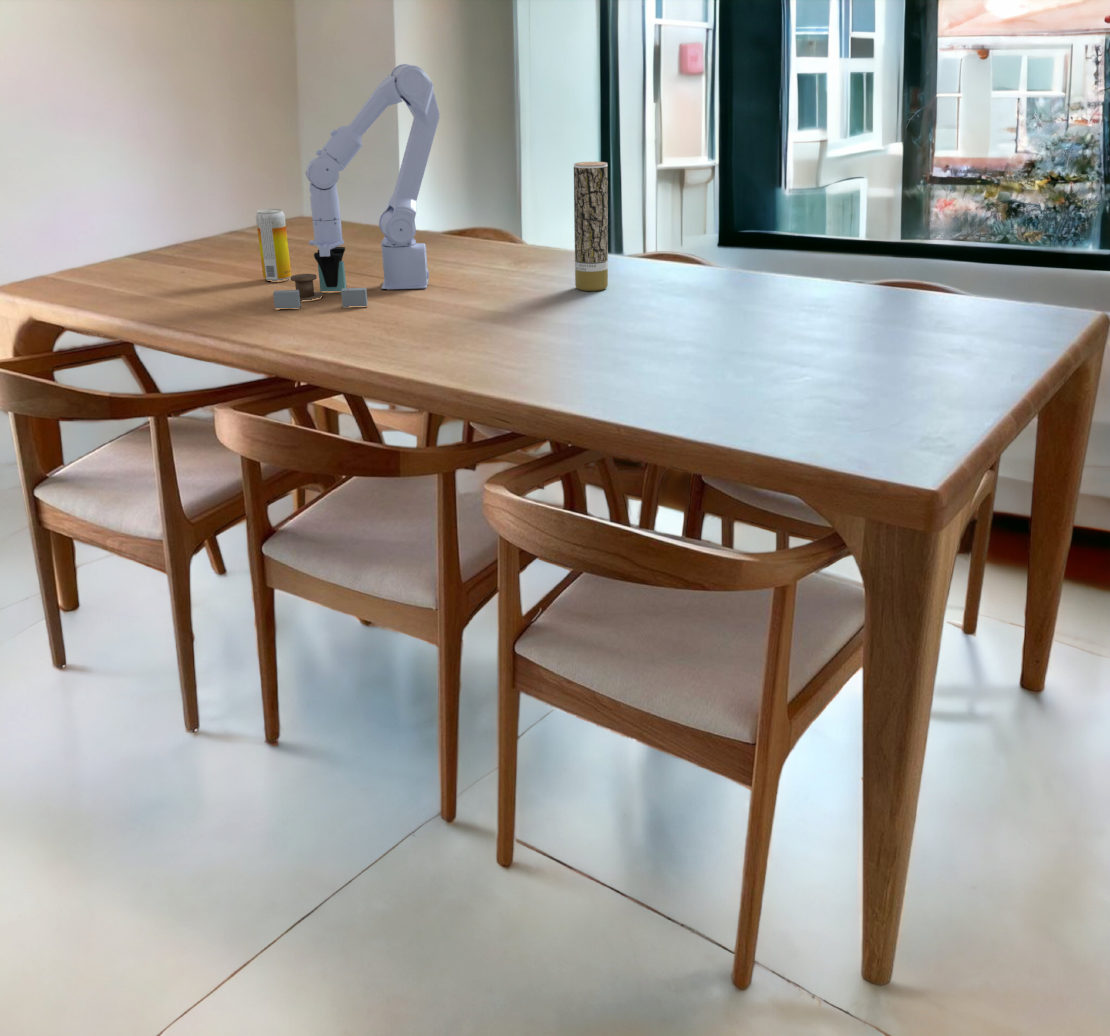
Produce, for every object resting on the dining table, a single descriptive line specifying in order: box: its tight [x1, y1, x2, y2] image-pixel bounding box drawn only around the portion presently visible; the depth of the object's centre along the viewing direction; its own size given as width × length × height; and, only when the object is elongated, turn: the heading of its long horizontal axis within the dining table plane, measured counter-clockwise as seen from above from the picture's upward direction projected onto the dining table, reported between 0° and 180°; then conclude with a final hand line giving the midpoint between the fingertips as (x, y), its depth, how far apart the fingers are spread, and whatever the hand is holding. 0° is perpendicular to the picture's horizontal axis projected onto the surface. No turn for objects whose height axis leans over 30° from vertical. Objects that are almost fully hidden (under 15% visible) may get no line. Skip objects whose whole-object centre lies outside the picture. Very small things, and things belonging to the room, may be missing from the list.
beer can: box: [255, 208, 292, 281], centre depth 249 cm, size 6×6×15 cm
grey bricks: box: [272, 287, 369, 309], centre depth 226 cm, size 18×2×4 cm, turn 93°
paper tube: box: [573, 161, 609, 292], centre depth 233 cm, size 7×7×25 cm
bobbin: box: [289, 273, 324, 301], centre depth 234 cm, size 7×7×4 cm
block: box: [317, 260, 347, 292], centre depth 239 cm, size 5×3×6 cm, turn 92°
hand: (333, 284), depth 239 cm, fingers closed on block, 3 cm apart
